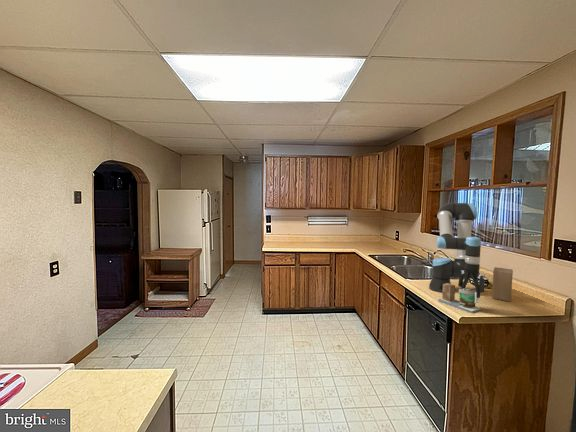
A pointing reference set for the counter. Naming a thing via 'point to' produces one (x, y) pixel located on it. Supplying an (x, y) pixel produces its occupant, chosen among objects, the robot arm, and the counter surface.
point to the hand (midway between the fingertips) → (470, 300)
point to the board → (460, 306)
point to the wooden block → (502, 284)
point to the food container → (467, 297)
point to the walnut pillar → (448, 292)
